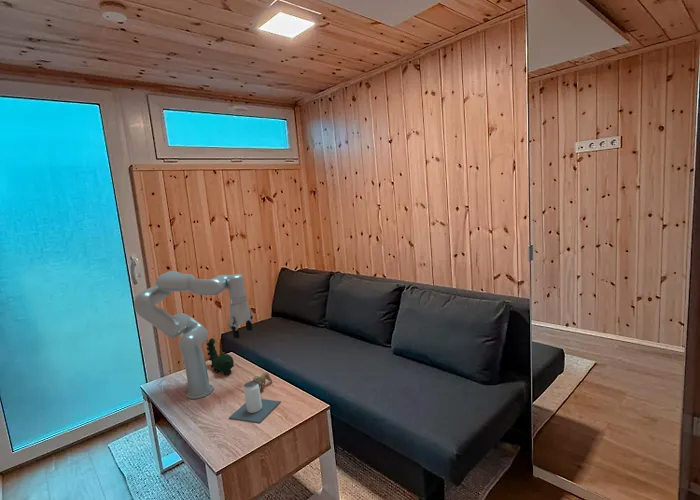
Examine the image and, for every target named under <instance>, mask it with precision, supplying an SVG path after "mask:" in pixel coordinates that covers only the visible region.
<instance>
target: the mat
mask: <svg viewBox="0 0 700 500" xmlns="http://www.w3.org/2000/svg"><path fill="white" fill-rule="evenodd" d="M261 402H262V409H261V410H260V411H258V412H256V413H249V412H248V411H247V406H246V402H245V403H244V404H242V405H241V406H240V407H239V408H238V409H237V410H235V412H233V413H232V414H231V415H230V416H229V417H228V420H229V419H230V420H233V421H240V422H241V421H242V422H249V423H255V424H261V423H263V421H264V420H265V419H266V418H267V417H268V416H269V415H270V414H271V413H272V412H273V411H274V410H275V409H276V408H277V407H278V406H279V405H280V404H281V403H282V402H281V400H274V399H265V398H261Z"/></svg>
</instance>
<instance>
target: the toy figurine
mask: <svg viewBox="0 0 700 500" xmlns="http://www.w3.org/2000/svg"><path fill="white" fill-rule="evenodd" d="M215 344H216V340H215V339H214V338H212V337H211V338H209V340H208V341H207V343H206V346H207V347H206V350H207V351H208V352H207V356H209V358H208V360H209V361H210V362H211V365H210V367H211V368H212V369H213V370H212V371H213V372H215V373H217V374H220V373H222V375H223V376H229V375H230V374H231V373H232V370H231V369H232V368H234V366H235V364H234V362H235V361H234V358H233V357H232V355H230V354H228V353H223V354H218V352H217V350H216V346H215Z"/></svg>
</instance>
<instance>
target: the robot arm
mask: <svg viewBox="0 0 700 500" xmlns="http://www.w3.org/2000/svg"><path fill="white" fill-rule="evenodd" d="M225 290H228V295H229V297H228V298H229V303H230V305H229V311H228V313H229V322H228V323H227V326H228V328H229V329H230V330H231V331H232V336H233V338H234V339H240V338H241V335H240V330H239V326H240V325H242V324H244V323H245V328H246V331H250V332H252V331H253V315H254V311H251V310H250V306H249V303H248V301H247V295H246V286H245V282H244V275H242V274H241V273H236V274H235V273H234V274H218V275H216V276H215V277H213V278H211V279H209V278H207V279H206V278H202V279H201V278H197V277H195V276H194V274H191V273H181V272H180V271H177V270H169V271H167V272H164V273H162V274H160V275H158V277H157V278H156V280H155V284H154V285H153V286H151V287H149V288H146V289H144V290H142V291H140V292H139V293H138V294H137V295H136V296H135V298H134V302H133V304H134V305H133V306H134V310H135V312H136V313H137V315H138V316H140V317H141V318H142V319H144V320H145V321H147V322H148V323H149V324H151V325H152V326H153V327H154V328H156V329H158V330H159V331H160V332H161V333H163V334H164V335H165V336H167V337H168V338H171V339H175V338H178V337H179V336H180V335H182V334H183V335H182V336H181V337H180V339H179V342H178V349H179V351H180V354H181V356H182V359H183V364H184V370H185V375H186V379H187V382H186V383H185V386H183V387H184V389H186V390H187V392H186V398H188V399H190V400H198V399H201V398H205V397H207V396H208V395H210V394H211V393H212V392H214V390H215V389H214V385H213V384H210V380H209V375H208V374H209V373H208V368H207V364H206V362H207V361H206V357H205V354H204V352H203V350H202V345H203V344H204V343H206V341H207V340H208V338H209V331H208V329H207V328H206V327H205V326H204V325H202V324H201V323H200V322H198V321H197V320H195V318H193V317H192V316H190V315H189V314H186V313H182V312H180V313H179V312H178V313H176V314H174V315H172V314H170V313H169V312H168V311H167V310H165V309H164V308H162V307H158V306H157V304H159V303H161V302H163V301H164V300H166V299H167V298H168V297H169V296H170V295H171V294H173V292H179V293H181V292H182V293H186V292H187V293H191V294H195V295H198V296H200V295H201V296H216V295H219V294H221V293H223V292H224V291H225Z"/></svg>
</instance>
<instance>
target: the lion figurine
mask: <svg viewBox="0 0 700 500" xmlns="http://www.w3.org/2000/svg"><path fill="white" fill-rule="evenodd" d="M266 380H267V381H269V384H270V385H271V384H273V380H272V378H271V377H270V374H269V373H268V372H263V373H262V374H261V375H260V376H257V375H256V376H254V377H253V378H252V381H257V383H258V385H259V389H260V393H264V392H265V391H264V387H265V385H266Z"/></svg>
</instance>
